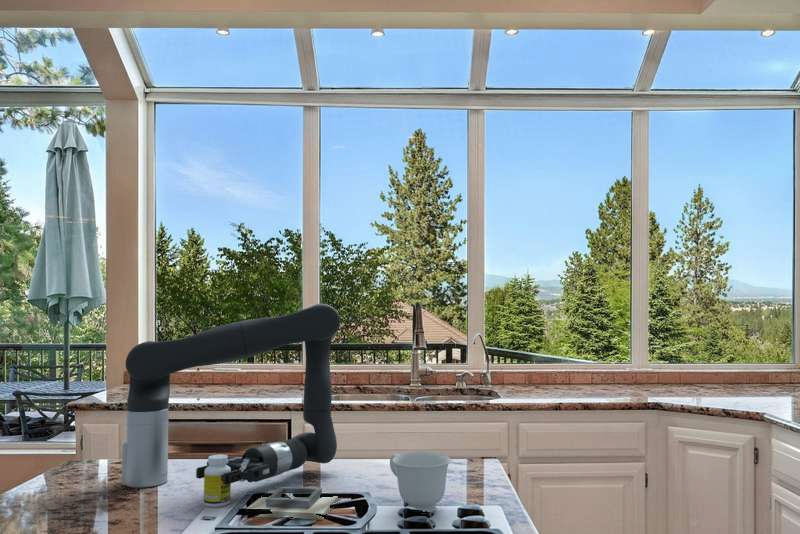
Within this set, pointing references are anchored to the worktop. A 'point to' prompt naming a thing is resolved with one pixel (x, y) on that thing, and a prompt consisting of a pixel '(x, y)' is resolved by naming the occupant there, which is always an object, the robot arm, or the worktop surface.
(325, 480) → the worktop surface
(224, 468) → the supplement bottle
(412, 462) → the teacup
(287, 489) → the seat board
